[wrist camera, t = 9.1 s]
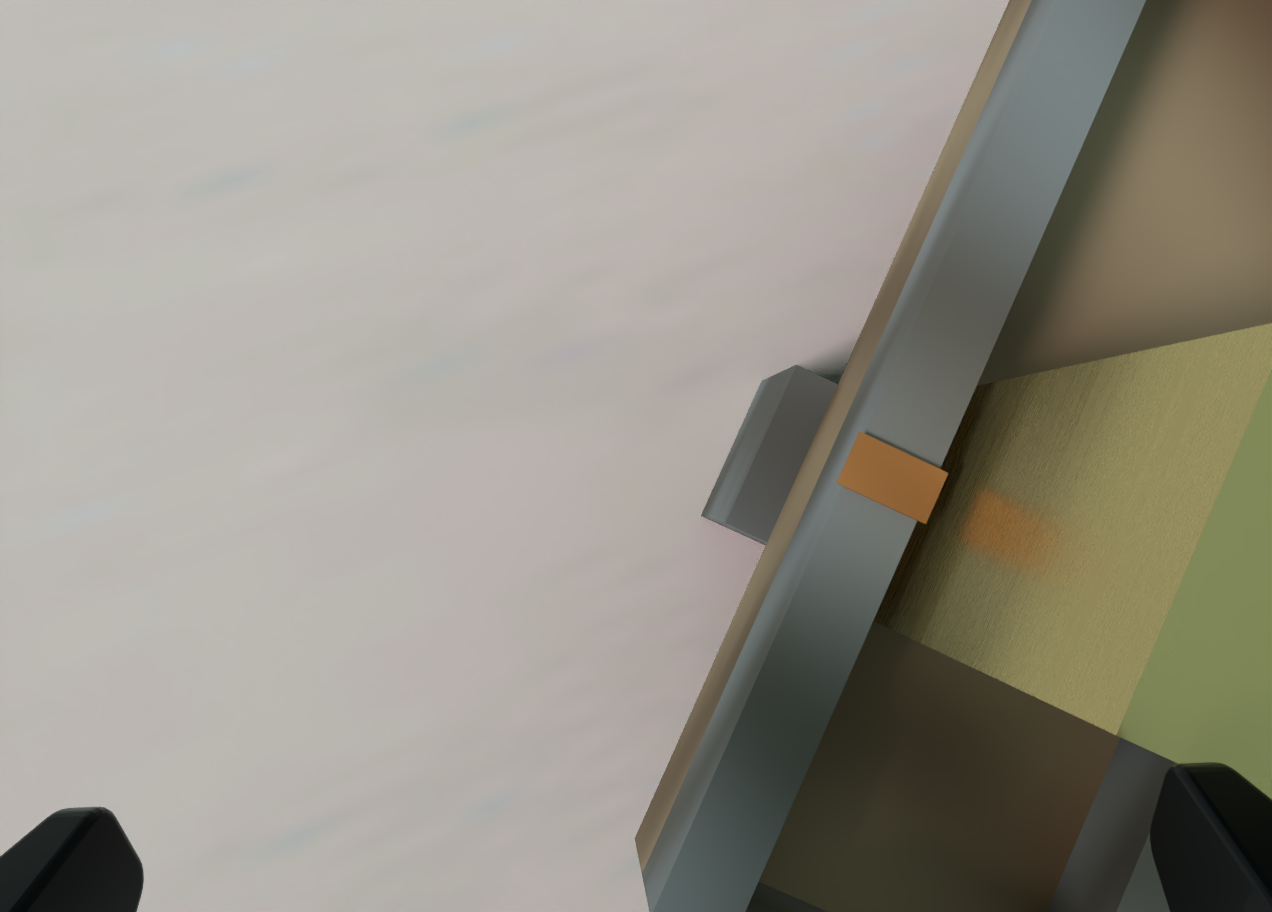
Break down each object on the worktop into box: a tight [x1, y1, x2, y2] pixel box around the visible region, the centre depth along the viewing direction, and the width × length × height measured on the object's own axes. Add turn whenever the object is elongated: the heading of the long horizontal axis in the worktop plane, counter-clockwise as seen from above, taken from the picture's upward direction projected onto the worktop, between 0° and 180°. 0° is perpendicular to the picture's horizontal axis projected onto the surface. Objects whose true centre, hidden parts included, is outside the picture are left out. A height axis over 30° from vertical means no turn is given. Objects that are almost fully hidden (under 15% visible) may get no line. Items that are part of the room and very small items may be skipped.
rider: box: [873, 323, 1272, 799], centre depth 12 cm, size 4×4×7 cm
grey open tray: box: [635, 0, 1272, 912], centre depth 17 cm, size 18×9×7 cm, turn 155°
